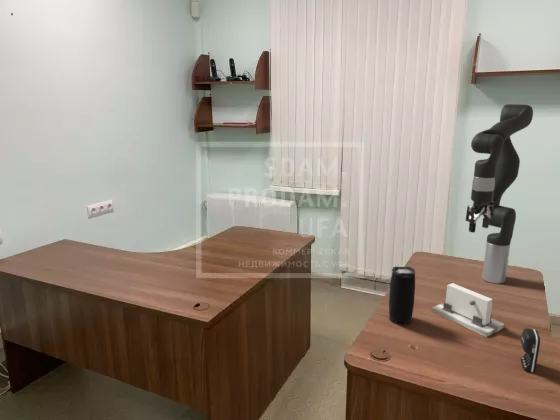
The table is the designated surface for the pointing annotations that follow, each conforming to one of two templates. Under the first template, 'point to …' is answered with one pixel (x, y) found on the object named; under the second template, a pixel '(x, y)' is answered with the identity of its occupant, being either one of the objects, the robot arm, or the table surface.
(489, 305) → the door
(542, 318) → the table surface
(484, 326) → the cabinet side
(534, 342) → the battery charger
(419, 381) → the table surface
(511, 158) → the robot arm
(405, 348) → the table surface
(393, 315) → the portable speaker
